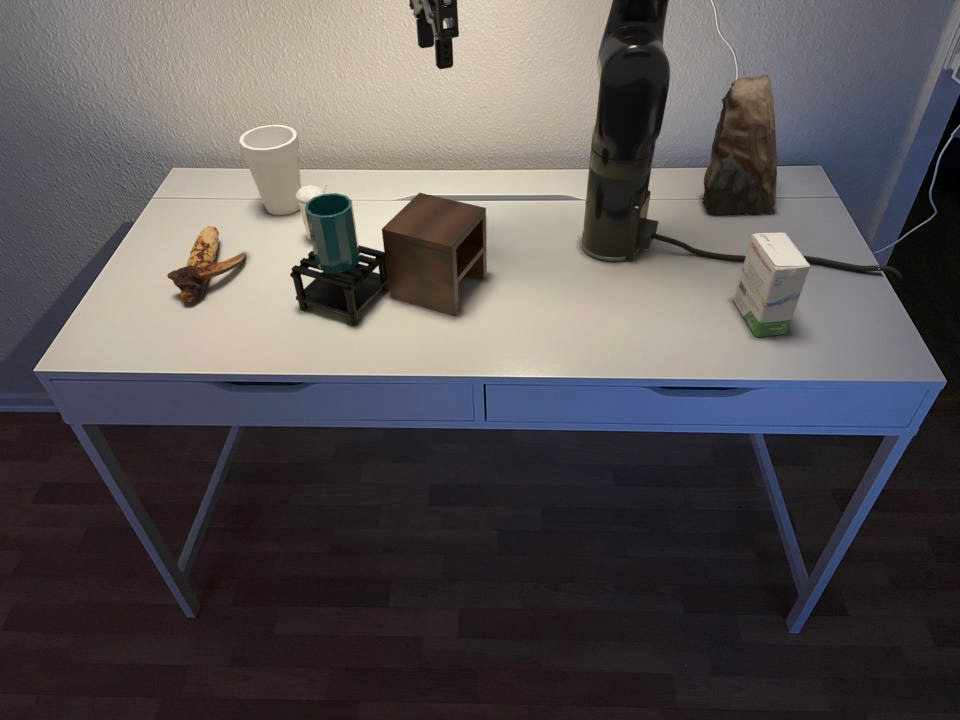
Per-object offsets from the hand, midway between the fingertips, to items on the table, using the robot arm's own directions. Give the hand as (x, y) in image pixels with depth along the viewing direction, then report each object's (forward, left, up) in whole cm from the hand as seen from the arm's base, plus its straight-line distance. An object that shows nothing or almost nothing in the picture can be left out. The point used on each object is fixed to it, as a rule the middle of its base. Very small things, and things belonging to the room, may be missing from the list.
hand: (435, 56), depth 98 cm
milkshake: (+20, +7, -30) cm, 37 cm away
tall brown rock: (-41, -32, -30) cm, 60 cm away
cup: (+7, +20, -23) cm, 31 cm away
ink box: (-50, -1, -30) cm, 58 cm away
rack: (+7, +20, -30) cm, 37 cm away
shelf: (-4, +11, -30) cm, 32 cm away
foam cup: (+32, +1, -30) cm, 44 cm away
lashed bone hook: (+30, +22, -30) cm, 48 cm away
